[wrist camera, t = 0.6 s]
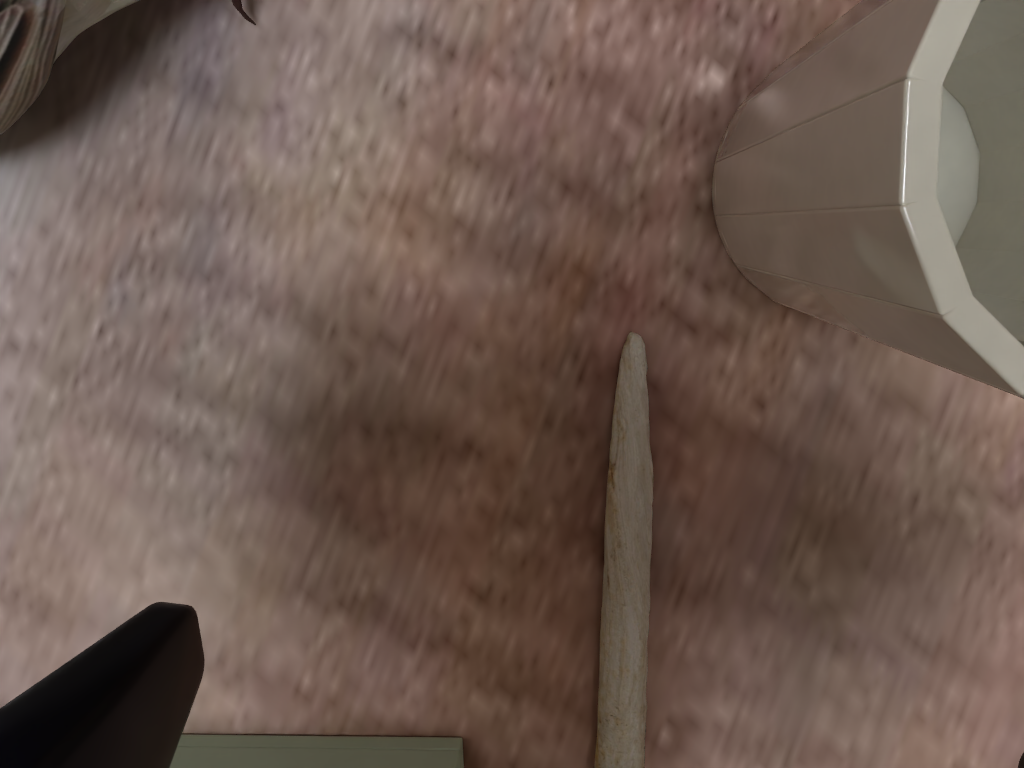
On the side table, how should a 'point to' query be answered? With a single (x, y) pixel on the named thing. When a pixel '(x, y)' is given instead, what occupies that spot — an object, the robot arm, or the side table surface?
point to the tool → (626, 570)
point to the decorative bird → (42, 44)
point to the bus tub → (317, 752)
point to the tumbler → (891, 182)
